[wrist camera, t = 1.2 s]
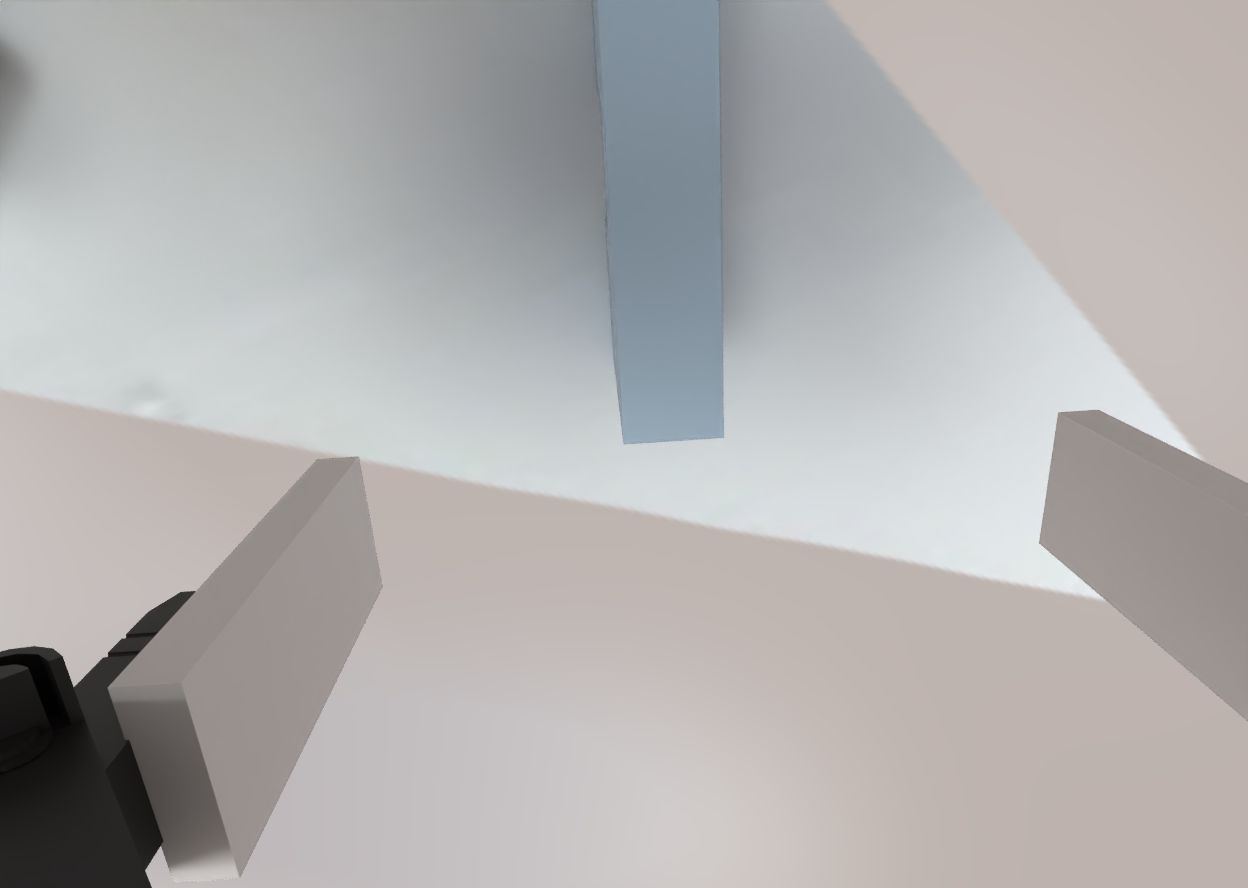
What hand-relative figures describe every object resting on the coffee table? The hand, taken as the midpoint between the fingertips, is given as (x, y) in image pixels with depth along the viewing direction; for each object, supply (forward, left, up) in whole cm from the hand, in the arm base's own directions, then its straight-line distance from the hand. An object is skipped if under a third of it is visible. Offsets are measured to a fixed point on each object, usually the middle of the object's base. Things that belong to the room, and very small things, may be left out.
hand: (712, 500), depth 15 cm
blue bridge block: (-6, 0, -18) cm, 19 cm away
